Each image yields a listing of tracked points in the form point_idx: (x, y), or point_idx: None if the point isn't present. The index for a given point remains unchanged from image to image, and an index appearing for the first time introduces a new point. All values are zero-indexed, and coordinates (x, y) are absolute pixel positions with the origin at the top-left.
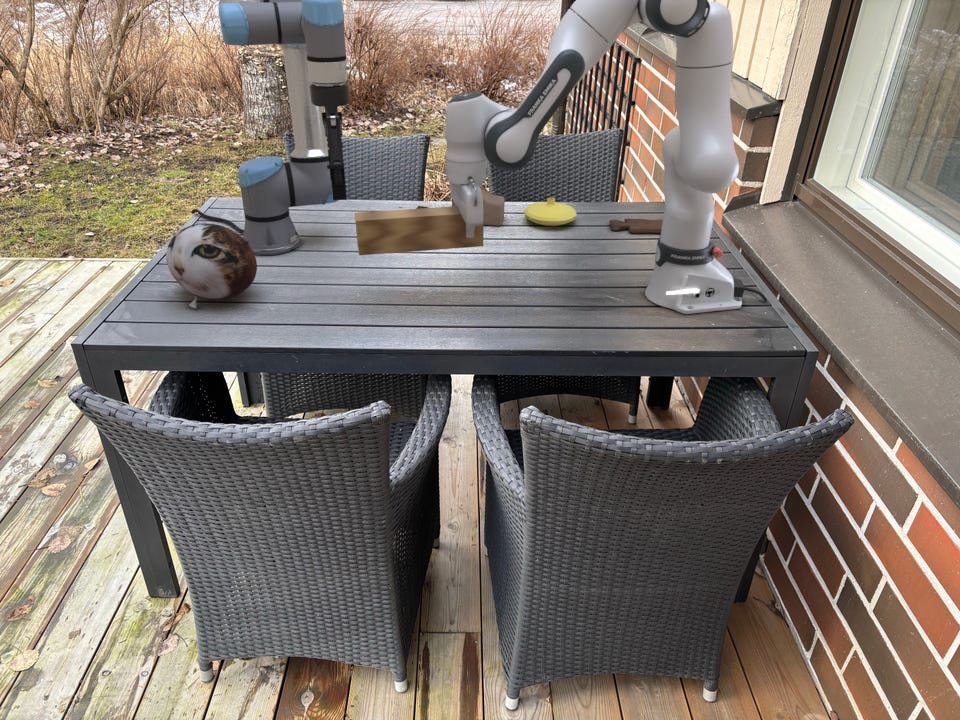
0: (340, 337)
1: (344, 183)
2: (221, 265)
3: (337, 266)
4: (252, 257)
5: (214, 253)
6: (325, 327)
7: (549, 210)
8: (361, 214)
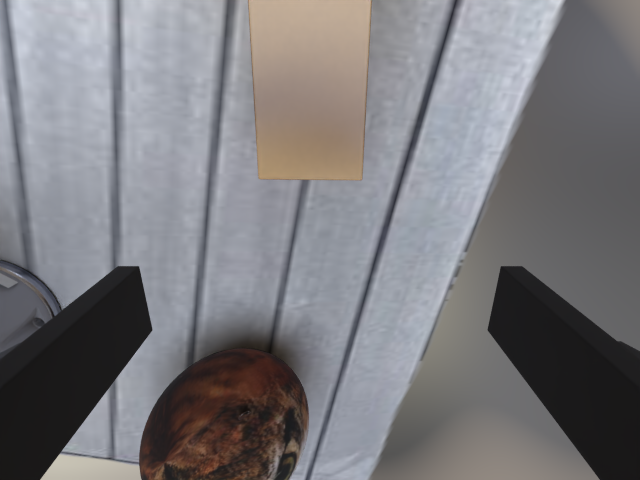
0: (445, 192)
1: (587, 326)
2: (303, 432)
3: (110, 182)
4: (252, 382)
5: (290, 460)
6: (398, 217)
7: None
8: (288, 152)
